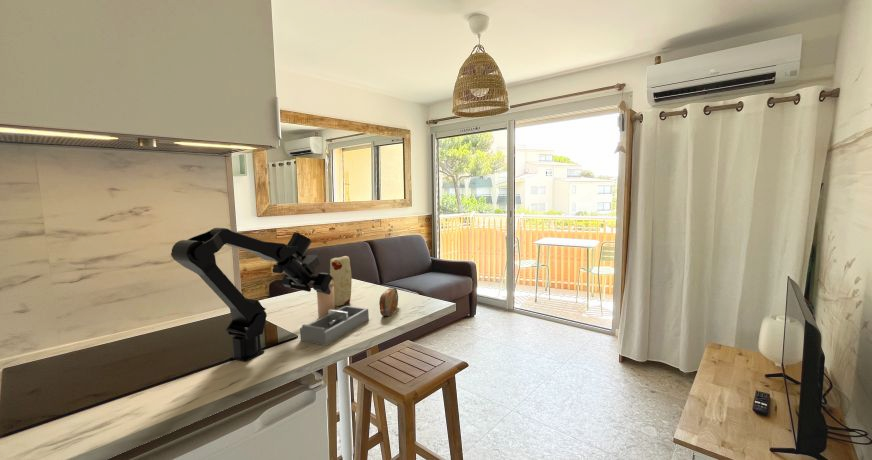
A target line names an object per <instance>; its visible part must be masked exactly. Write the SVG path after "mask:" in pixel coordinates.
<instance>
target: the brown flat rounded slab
mask: <svg viewBox="0 0 872 460" xmlns="http://www.w3.org/2000/svg"><path fill="white" fill-rule="evenodd" d="M398 304H399V294H398V290H397V288H396V287H392V288H390V287H389V288H388V289H386V290H385V291H384V292H383V293H382V294H381V295H380V297H379V312H380V315H381V316H383V317H390V316H391V315H392V314H393V313H394V312H395V311H396V310H397V308H398V306H399V305H398Z"/></svg>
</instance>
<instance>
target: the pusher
mask: <svg viewBox="0 0 872 460" xmlns="http://www.w3.org/2000/svg"><path fill="white" fill-rule="evenodd" d="M328 314H329V323H328V325H329V326H332V325H337V324H339V323H340V322H342V321H344V320H346V319H348V312H345V311H338V309H335V310H331V309H330V310H328Z"/></svg>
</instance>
